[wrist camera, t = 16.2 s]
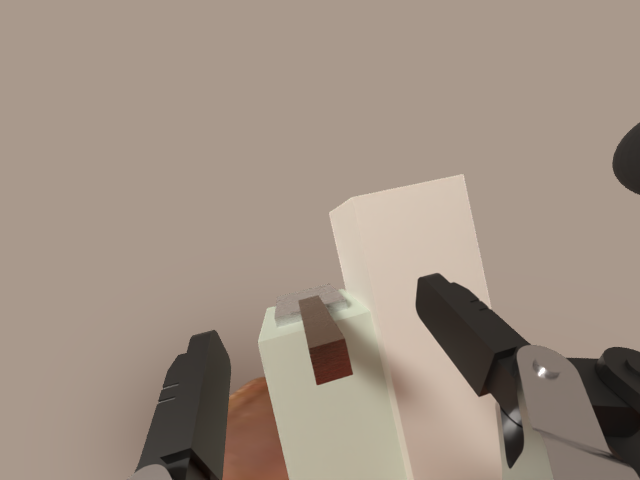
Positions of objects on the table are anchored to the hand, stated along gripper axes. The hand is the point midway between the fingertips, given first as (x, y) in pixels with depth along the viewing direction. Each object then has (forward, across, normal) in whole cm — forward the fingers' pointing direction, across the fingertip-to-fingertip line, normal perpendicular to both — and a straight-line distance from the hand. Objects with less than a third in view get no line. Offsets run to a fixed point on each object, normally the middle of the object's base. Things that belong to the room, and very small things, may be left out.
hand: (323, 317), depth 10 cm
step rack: (+2, -5, +30) cm, 31 cm away
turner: (+10, 0, +11) cm, 15 cm away
